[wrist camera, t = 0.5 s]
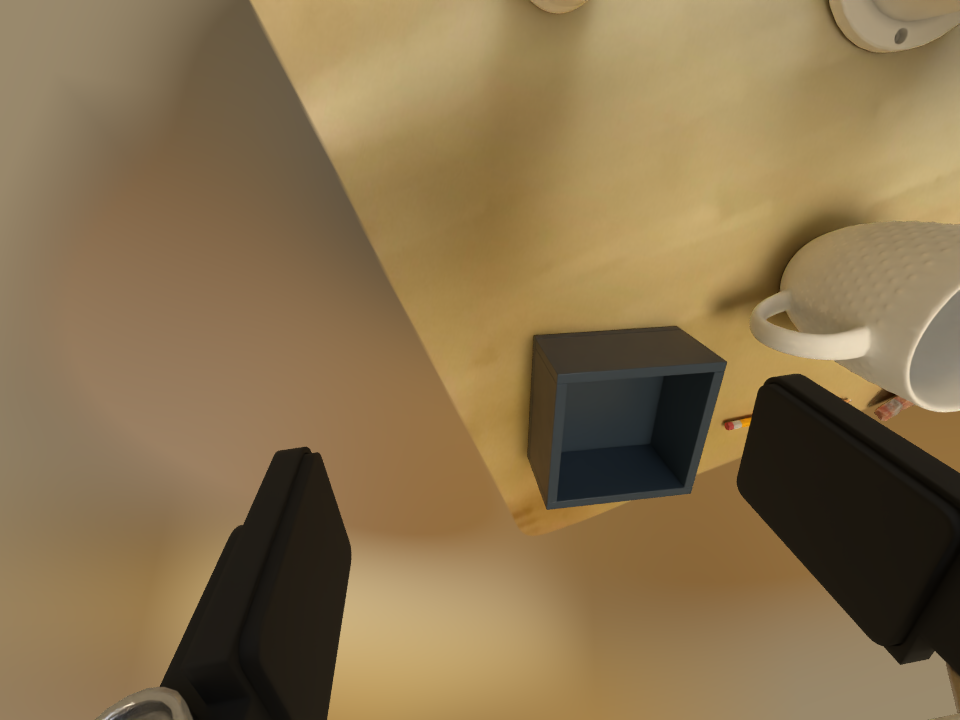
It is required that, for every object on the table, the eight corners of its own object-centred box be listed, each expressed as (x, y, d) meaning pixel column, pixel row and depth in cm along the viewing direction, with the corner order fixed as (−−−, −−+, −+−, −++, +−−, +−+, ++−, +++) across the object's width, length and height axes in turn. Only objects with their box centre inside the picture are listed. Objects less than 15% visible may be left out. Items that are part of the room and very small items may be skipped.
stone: (881, 428, 45) (891, 410, 42) (861, 409, 47) (868, 390, 43) (1014, 366, 42) (1038, 341, 39) (989, 348, 44) (1008, 322, 40)
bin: (533, 335, 36) (557, 374, 30) (677, 325, 38) (727, 361, 32) (527, 456, 42) (546, 510, 36) (652, 444, 43) (691, 493, 37)
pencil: (724, 421, 43) (729, 424, 42) (849, 395, 44) (856, 398, 44) (723, 428, 43) (728, 431, 43) (848, 401, 44) (854, 405, 44)
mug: (711, 361, 40) (833, 453, 28) (709, 244, 35) (857, 297, 23) (869, 312, 40) (1056, 384, 28) (890, 187, 35) (1129, 212, 23)
